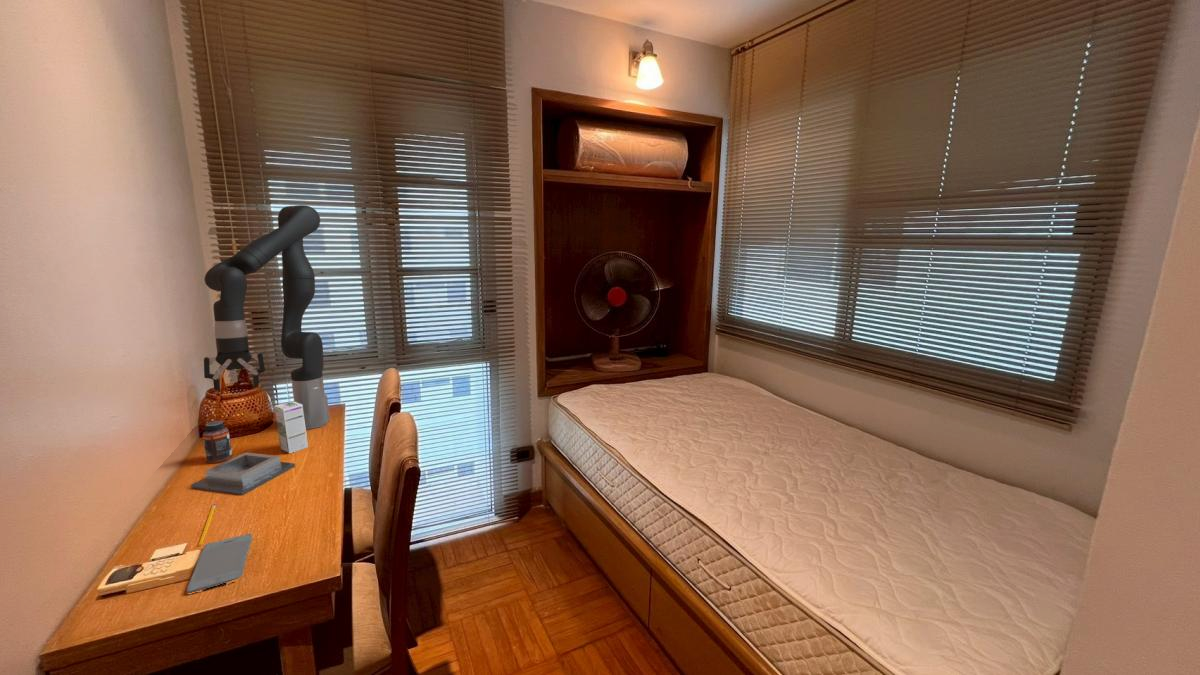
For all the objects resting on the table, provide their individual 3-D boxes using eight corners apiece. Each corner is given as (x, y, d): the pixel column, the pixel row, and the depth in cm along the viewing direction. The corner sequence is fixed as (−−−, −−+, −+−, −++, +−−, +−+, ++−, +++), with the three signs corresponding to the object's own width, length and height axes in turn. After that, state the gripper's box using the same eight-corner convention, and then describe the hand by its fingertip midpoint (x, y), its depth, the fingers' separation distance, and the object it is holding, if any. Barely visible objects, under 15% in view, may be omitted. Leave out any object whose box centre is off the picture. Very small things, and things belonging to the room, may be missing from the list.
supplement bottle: (238, 455, 140) (232, 419, 138) (220, 464, 135) (214, 427, 132) (219, 454, 141) (214, 419, 139) (201, 463, 135) (195, 426, 133)
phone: (185, 598, 85) (184, 592, 84) (205, 549, 98) (204, 544, 98) (241, 583, 89) (240, 577, 88) (253, 538, 102) (252, 532, 102)
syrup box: (309, 447, 146) (303, 403, 144) (288, 454, 141) (282, 409, 139) (299, 443, 149) (294, 400, 147) (279, 450, 144) (273, 405, 142)
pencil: (216, 506, 114) (215, 503, 114) (203, 546, 99) (202, 543, 99) (212, 507, 114) (211, 504, 113) (198, 548, 98) (197, 545, 98)
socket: (248, 461, 137) (246, 448, 136) (295, 466, 134) (293, 453, 133) (191, 488, 122) (189, 473, 121) (242, 495, 118) (240, 480, 118)
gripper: (260, 332, 145) (265, 383, 147) (200, 336, 136) (206, 390, 138) (262, 334, 139) (267, 388, 141) (199, 338, 130) (206, 395, 133)
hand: (237, 389), depth 140 cm, fingers open, 8 cm apart
